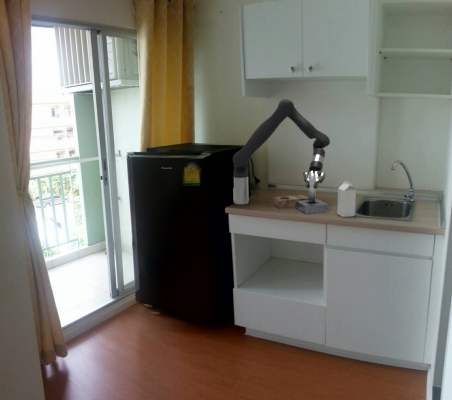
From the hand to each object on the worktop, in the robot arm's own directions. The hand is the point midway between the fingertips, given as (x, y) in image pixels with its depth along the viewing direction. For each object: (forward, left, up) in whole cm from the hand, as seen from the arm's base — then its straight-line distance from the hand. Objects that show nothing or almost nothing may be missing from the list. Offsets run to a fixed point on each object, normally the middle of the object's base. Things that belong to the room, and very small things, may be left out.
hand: (311, 187), depth 240 cm
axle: (+1, +2, -8) cm, 8 cm away
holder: (+1, +2, -14) cm, 14 cm away
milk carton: (+14, -15, -14) cm, 25 cm away
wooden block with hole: (-6, +16, -14) cm, 22 cm away
